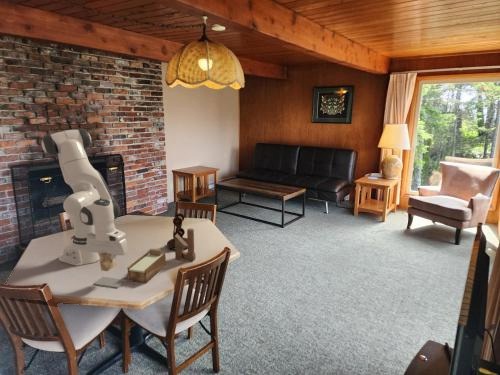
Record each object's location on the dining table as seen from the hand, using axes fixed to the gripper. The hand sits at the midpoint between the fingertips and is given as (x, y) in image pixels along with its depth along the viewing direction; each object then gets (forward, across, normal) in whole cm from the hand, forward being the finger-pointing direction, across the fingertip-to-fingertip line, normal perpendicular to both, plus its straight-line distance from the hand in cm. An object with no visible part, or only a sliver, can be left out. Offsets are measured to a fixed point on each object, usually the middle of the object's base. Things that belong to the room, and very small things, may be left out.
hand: (108, 261), depth 165 cm
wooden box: (+12, +12, +15) cm, 22 cm away
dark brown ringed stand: (+12, +12, +51) cm, 54 cm away
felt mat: (+11, 0, 0) cm, 11 cm away
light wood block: (+3, 0, 0) cm, 3 cm away
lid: (+6, +12, +15) cm, 20 cm away
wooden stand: (+12, +23, +35) cm, 44 cm away
